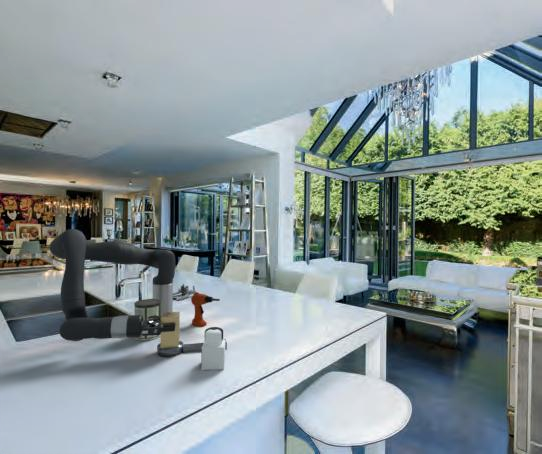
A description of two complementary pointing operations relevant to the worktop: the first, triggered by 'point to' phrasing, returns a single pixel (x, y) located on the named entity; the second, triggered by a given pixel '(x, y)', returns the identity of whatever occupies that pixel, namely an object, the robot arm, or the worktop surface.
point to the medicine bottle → (213, 350)
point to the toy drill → (200, 308)
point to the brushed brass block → (171, 337)
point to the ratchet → (180, 349)
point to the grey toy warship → (184, 292)
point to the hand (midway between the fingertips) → (175, 323)
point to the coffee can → (148, 313)
